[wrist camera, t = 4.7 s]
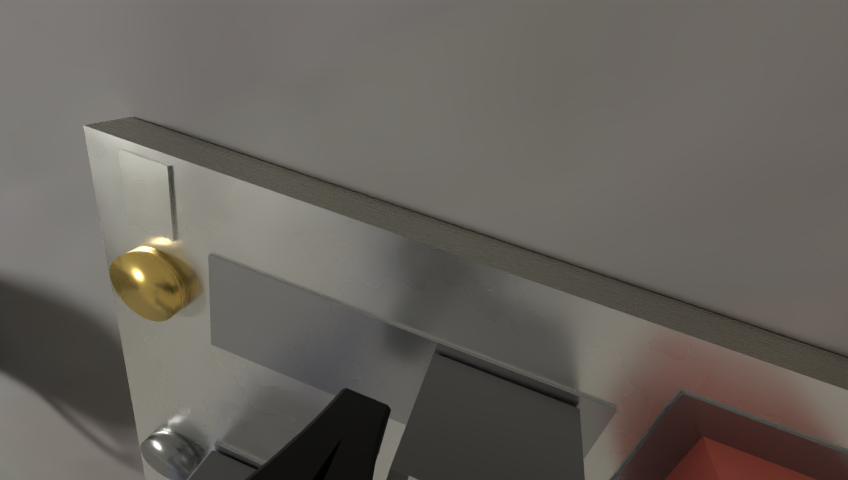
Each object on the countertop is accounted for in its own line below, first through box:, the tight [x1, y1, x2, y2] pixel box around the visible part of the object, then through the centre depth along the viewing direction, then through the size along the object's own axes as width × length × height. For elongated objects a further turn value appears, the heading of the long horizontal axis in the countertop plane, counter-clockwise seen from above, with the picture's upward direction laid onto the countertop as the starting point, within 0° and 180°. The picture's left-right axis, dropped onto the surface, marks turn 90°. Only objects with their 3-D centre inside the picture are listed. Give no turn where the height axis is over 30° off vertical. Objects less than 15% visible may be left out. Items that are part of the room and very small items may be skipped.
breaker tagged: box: [386, 353, 585, 480], centre depth 10 cm, size 3×4×4 cm
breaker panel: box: [83, 117, 848, 480], centre depth 14 cm, size 18×24×2 cm
